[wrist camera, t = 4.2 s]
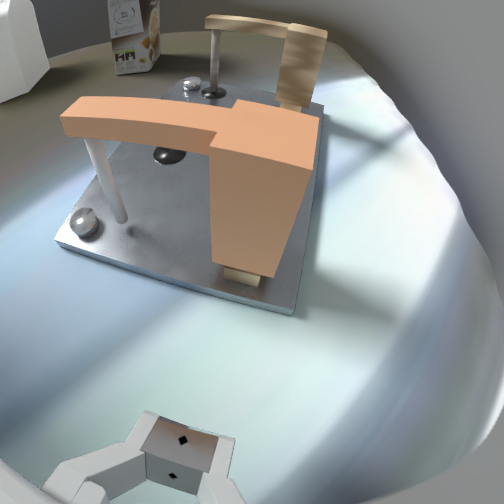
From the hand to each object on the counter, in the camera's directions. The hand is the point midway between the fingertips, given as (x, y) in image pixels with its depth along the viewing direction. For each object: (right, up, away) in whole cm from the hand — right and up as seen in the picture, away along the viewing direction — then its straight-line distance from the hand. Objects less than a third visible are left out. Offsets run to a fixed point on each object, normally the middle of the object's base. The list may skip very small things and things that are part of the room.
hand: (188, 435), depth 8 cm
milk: (-48, +42, +31) cm, 71 cm away
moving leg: (-3, +7, +13) cm, 15 cm away
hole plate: (-2, +15, +20) cm, 25 cm away
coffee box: (-18, +39, +33) cm, 54 cm away
